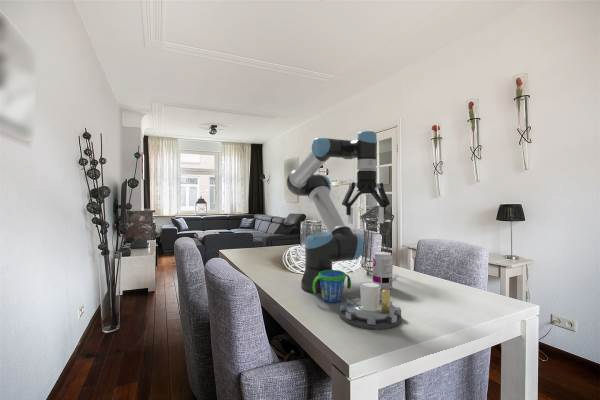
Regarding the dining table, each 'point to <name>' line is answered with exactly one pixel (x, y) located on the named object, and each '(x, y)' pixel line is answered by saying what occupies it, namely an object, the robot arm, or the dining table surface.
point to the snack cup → (332, 284)
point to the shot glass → (370, 294)
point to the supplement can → (383, 269)
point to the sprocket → (371, 310)
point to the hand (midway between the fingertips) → (365, 223)
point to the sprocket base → (369, 326)
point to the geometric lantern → (375, 233)
